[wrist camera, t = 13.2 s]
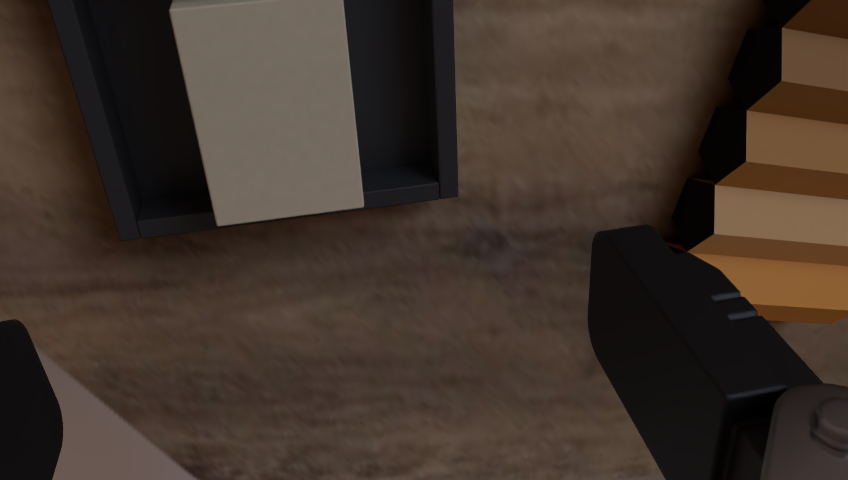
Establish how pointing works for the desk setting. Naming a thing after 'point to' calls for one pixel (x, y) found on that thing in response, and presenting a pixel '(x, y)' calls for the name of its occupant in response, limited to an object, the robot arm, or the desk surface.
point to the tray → (174, 128)
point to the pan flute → (779, 169)
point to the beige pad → (271, 105)
